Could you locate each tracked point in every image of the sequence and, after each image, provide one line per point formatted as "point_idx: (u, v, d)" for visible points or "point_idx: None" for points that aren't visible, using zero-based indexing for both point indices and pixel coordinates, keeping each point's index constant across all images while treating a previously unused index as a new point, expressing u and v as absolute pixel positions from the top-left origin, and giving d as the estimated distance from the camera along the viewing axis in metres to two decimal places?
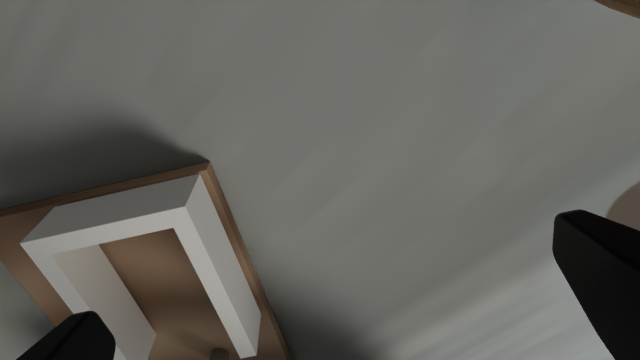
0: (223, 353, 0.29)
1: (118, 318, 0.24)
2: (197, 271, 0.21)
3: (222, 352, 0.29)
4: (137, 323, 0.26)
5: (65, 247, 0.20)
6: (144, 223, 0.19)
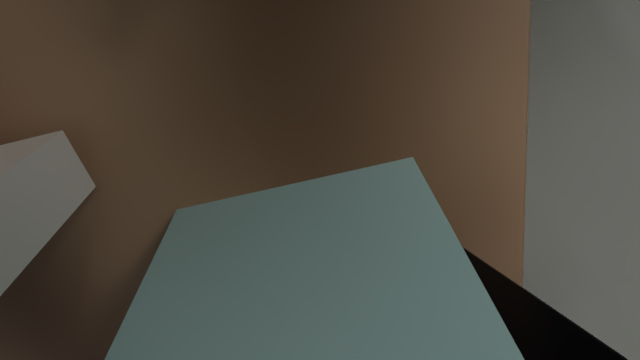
0: None
1: None
2: None
3: None
4: None
5: None
6: None
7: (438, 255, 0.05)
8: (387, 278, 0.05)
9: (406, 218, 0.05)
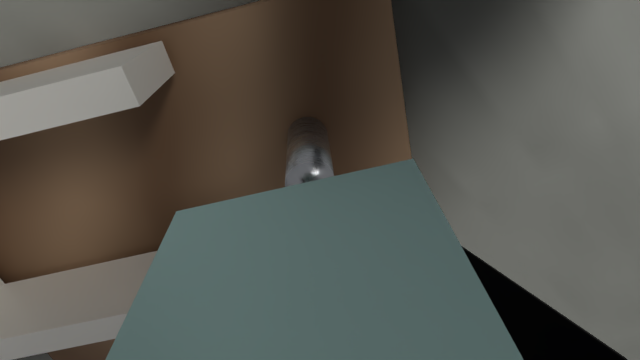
0: (290, 129, 0.14)
1: (127, 288, 0.14)
2: None
3: (289, 131, 0.14)
4: None
5: None
6: None
7: (439, 258, 0.05)
8: (388, 280, 0.05)
9: (407, 220, 0.05)
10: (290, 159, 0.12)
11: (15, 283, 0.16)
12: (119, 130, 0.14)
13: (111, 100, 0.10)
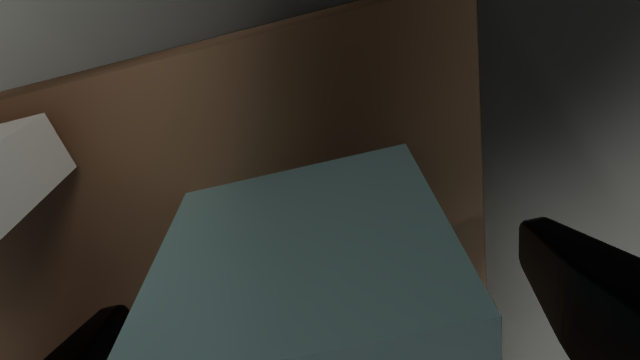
0: None
1: None
2: None
3: None
4: None
5: None
6: None
7: (425, 226, 0.05)
8: (380, 245, 0.05)
9: (398, 196, 0.06)
10: None
11: None
12: None
13: None
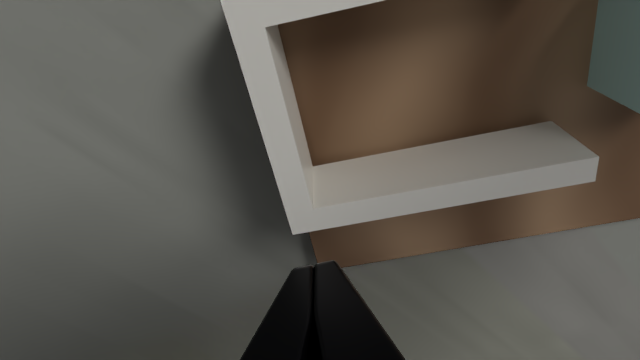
0: None
1: (470, 161, 0.15)
2: (365, 1, 0.11)
3: None
4: (505, 139, 0.16)
5: (300, 188, 0.14)
6: (256, 72, 0.12)
7: None
8: None
9: None
10: None
11: (325, 165, 0.17)
12: (481, 7, 0.15)
13: None
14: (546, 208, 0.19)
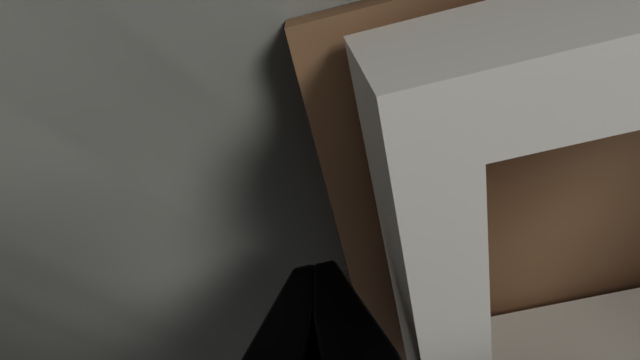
0: None
1: None
2: None
3: None
4: None
5: None
6: (439, 262, 0.05)
7: None
8: None
9: None
10: None
11: None
12: None
13: None
14: None
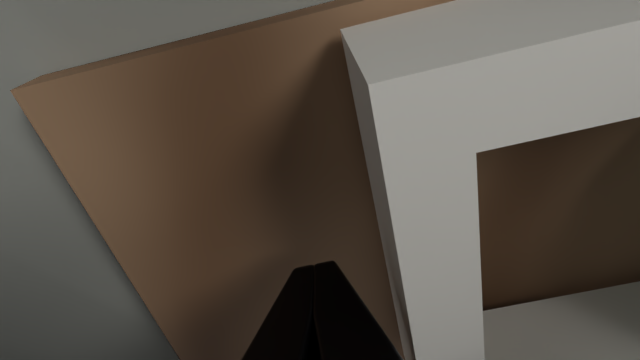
0: None
1: None
2: None
3: None
4: None
5: None
6: (431, 250, 0.05)
7: None
8: None
9: None
10: None
11: None
12: None
13: None
14: None
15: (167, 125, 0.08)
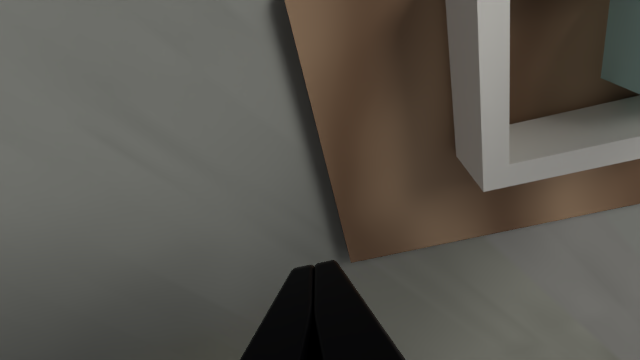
0: None
1: None
2: None
3: None
4: None
5: (503, 143, 0.15)
6: (491, 27, 0.13)
7: None
8: None
9: None
10: None
11: None
12: None
13: None
14: (564, 194, 0.20)
15: (350, 6, 0.16)
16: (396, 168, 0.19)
